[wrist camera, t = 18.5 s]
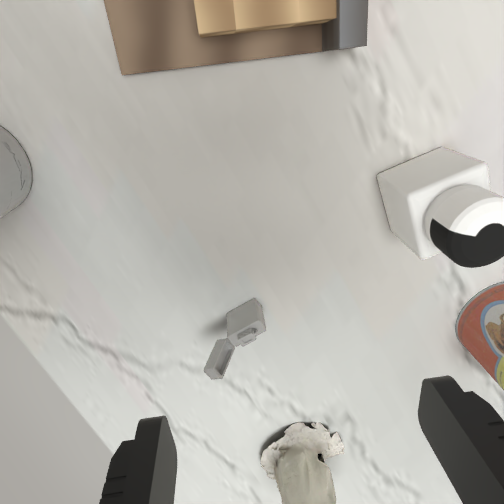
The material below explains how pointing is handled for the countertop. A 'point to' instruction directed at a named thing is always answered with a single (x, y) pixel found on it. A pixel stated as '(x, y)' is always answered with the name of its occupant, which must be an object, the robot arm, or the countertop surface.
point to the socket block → (259, 15)
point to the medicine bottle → (445, 207)
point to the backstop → (218, 47)
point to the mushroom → (303, 464)
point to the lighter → (236, 336)
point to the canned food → (485, 330)
